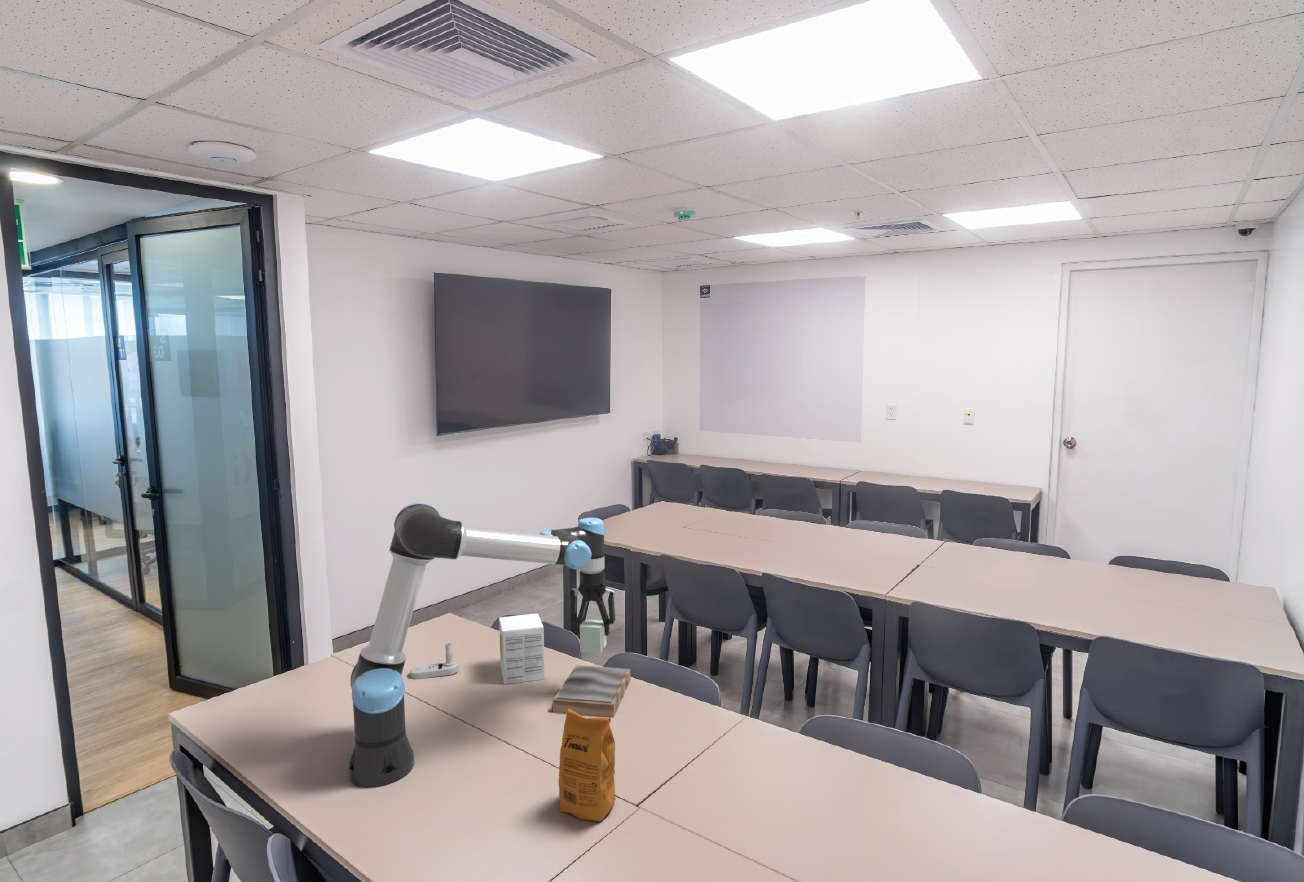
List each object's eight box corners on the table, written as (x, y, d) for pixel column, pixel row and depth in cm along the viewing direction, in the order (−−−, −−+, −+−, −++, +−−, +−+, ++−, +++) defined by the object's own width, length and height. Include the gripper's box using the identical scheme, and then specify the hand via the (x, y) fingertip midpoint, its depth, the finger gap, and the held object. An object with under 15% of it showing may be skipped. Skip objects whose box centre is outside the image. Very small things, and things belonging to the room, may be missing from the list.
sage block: (600, 653, 200) (600, 627, 200) (581, 652, 201) (580, 626, 201) (605, 645, 206) (605, 620, 206) (586, 644, 207) (586, 619, 207)
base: (613, 717, 192) (613, 703, 192) (553, 712, 195) (552, 698, 195) (630, 679, 216) (630, 667, 215) (576, 675, 219) (576, 664, 218)
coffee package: (575, 787, 159) (573, 698, 157) (621, 801, 154) (620, 709, 152) (551, 811, 150) (549, 717, 148) (599, 827, 145) (598, 730, 143)
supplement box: (499, 667, 225) (498, 617, 223) (539, 662, 229) (538, 612, 227) (503, 685, 212) (501, 631, 211) (545, 679, 216) (544, 626, 215)
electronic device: (409, 645, 221) (457, 640, 224) (411, 674, 222) (459, 668, 225) (407, 652, 215) (456, 646, 219) (409, 681, 216) (458, 675, 220)
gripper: (625, 567, 204) (626, 641, 206) (565, 565, 207) (566, 638, 209) (620, 575, 196) (621, 651, 199) (557, 572, 199) (559, 647, 202)
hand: (593, 644), depth 204 cm, fingers closed on sage block, 6 cm apart
